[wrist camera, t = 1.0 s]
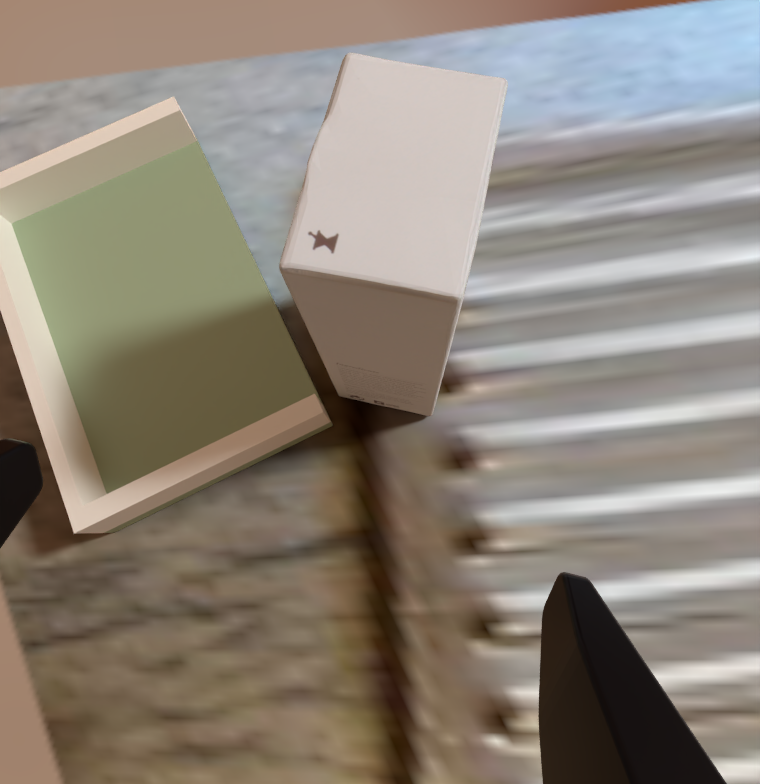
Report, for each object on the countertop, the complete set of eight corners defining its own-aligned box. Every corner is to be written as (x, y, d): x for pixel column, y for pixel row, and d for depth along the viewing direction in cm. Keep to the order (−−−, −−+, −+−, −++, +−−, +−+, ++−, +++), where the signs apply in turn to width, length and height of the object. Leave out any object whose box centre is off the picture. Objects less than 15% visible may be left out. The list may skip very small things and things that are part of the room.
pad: (333, 425, 23) (323, 412, 20) (114, 532, 22) (73, 533, 20) (197, 139, 27) (173, 96, 24) (6, 224, 26) (-40, 189, 23)
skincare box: (434, 419, 23) (462, 309, 11) (337, 398, 23) (267, 270, 12) (463, 289, 24) (514, 71, 13) (370, 271, 25) (338, 44, 13)
